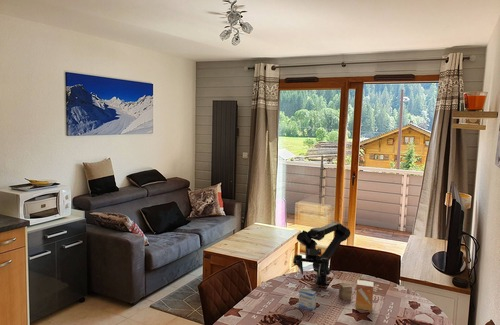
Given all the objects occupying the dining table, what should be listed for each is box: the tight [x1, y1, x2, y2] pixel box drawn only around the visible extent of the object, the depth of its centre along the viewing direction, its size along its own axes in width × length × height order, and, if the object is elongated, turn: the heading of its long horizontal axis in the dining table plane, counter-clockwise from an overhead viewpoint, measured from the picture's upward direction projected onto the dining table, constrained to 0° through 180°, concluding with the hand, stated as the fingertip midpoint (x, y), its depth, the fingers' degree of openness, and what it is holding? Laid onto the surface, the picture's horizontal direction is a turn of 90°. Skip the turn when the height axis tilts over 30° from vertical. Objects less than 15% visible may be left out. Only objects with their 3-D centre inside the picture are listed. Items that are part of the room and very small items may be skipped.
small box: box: [355, 279, 375, 312], centre depth 199 cm, size 8×6×13 cm
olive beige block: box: [338, 282, 353, 301], centre depth 210 cm, size 5×5×7 cm
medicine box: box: [298, 287, 317, 311], centre depth 198 cm, size 8×4×9 cm, turn 62°
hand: (311, 275), depth 207 cm, fingers open, 9 cm apart
